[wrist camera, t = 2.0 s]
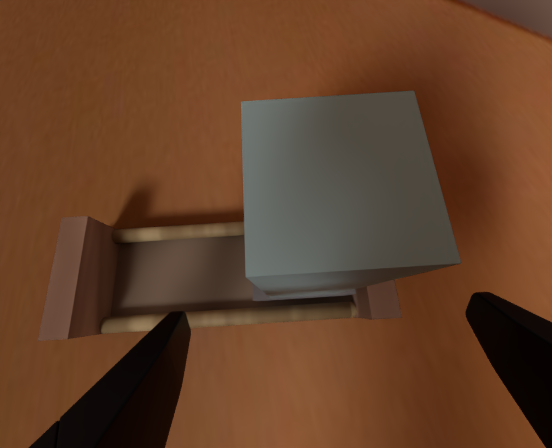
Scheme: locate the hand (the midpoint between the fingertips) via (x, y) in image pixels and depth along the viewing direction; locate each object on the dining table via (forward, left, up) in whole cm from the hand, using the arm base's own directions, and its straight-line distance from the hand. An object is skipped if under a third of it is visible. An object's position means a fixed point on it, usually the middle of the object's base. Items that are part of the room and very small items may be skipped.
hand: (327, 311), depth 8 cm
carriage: (+2, +2, -10) cm, 10 cm away
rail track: (-2, +5, -11) cm, 12 cm away
